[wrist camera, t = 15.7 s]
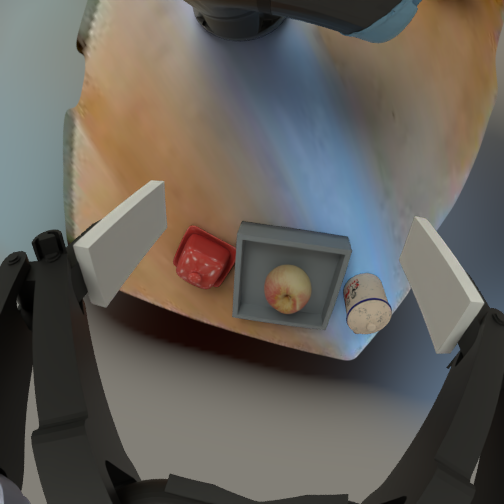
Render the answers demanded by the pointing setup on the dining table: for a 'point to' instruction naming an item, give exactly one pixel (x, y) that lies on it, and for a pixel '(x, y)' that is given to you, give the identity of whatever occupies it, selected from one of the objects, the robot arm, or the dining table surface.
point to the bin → (292, 253)
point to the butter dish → (203, 258)
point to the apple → (287, 288)
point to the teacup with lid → (366, 304)
